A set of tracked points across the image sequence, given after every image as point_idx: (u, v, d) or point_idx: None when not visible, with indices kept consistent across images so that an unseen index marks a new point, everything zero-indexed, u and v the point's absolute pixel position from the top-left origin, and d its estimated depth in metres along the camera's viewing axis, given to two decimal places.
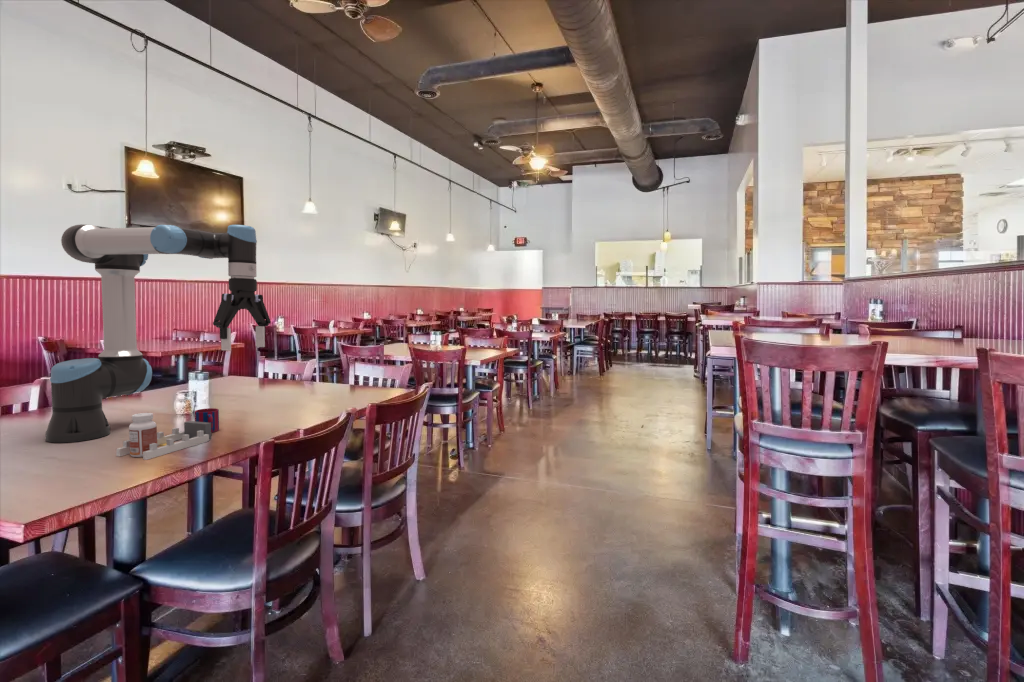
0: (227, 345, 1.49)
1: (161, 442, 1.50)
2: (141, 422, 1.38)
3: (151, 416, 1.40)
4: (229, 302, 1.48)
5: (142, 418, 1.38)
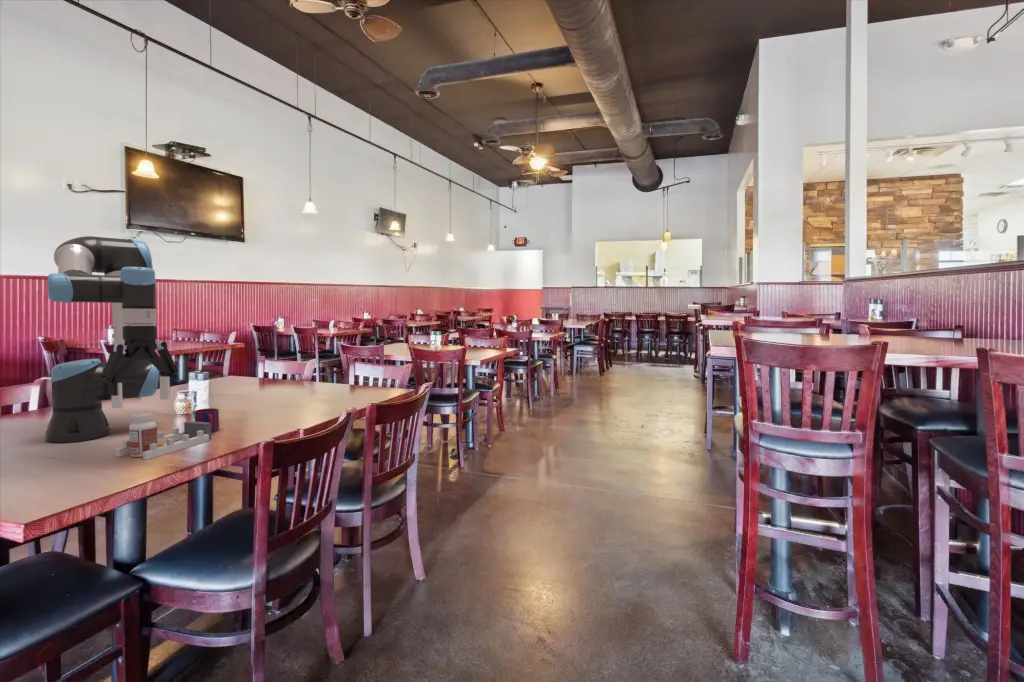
0: (118, 402, 1.32)
1: (161, 442, 1.50)
2: (141, 422, 1.38)
3: (151, 416, 1.40)
4: (120, 354, 1.32)
5: (142, 418, 1.38)
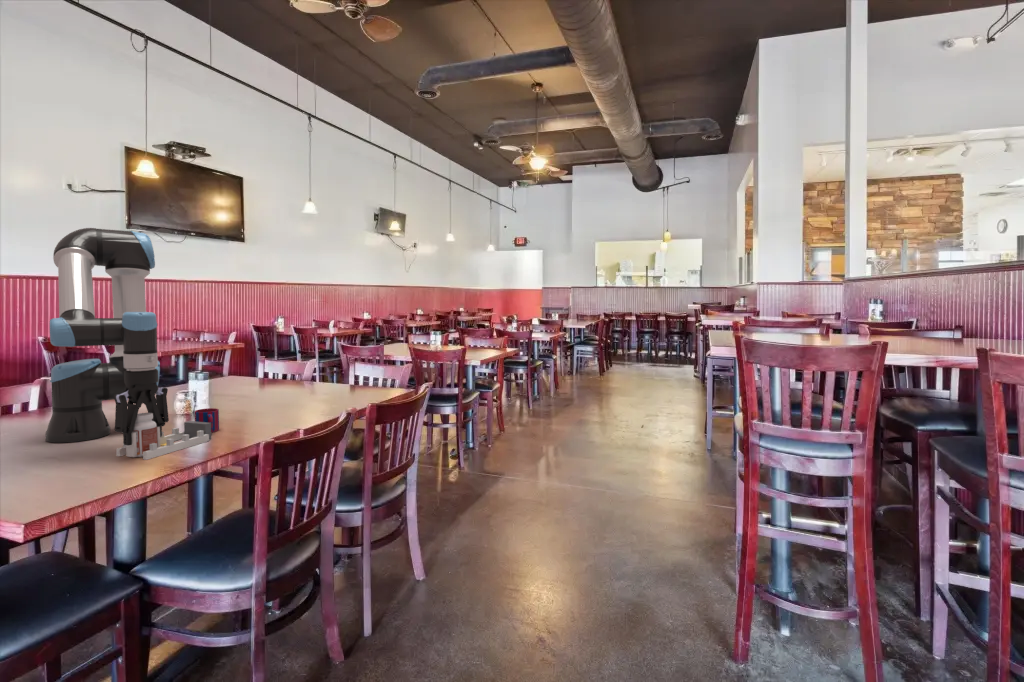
0: (132, 451, 1.37)
1: (161, 442, 1.50)
2: (141, 422, 1.38)
3: (151, 416, 1.40)
4: (125, 404, 1.34)
5: (142, 418, 1.38)
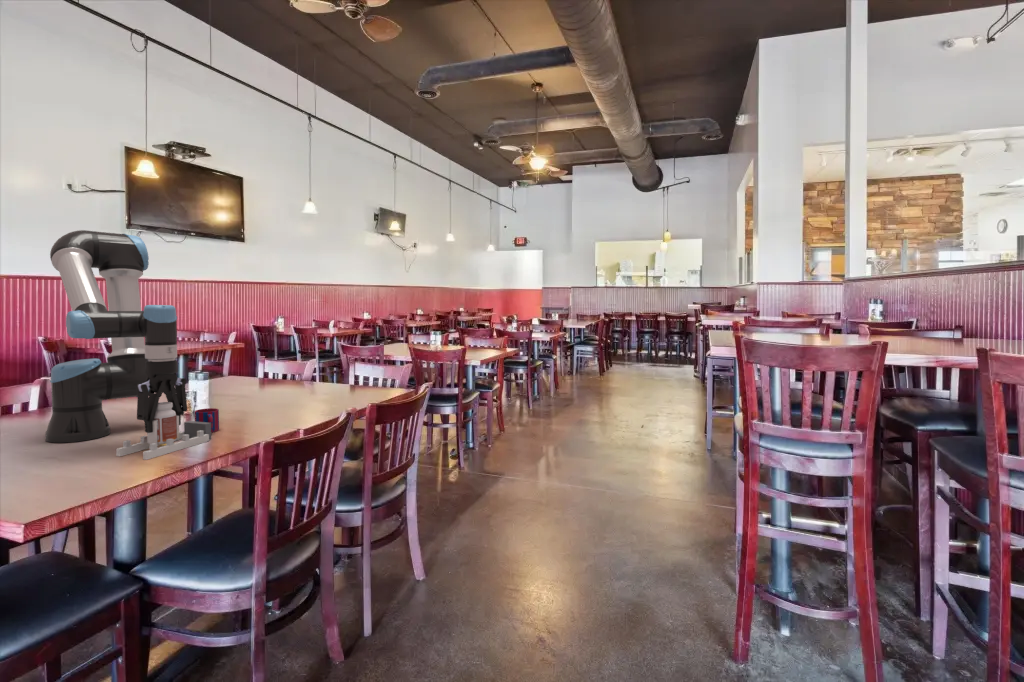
0: (153, 438, 1.43)
1: None
2: (162, 411, 1.44)
3: (171, 405, 1.46)
4: (146, 393, 1.40)
5: (162, 407, 1.44)
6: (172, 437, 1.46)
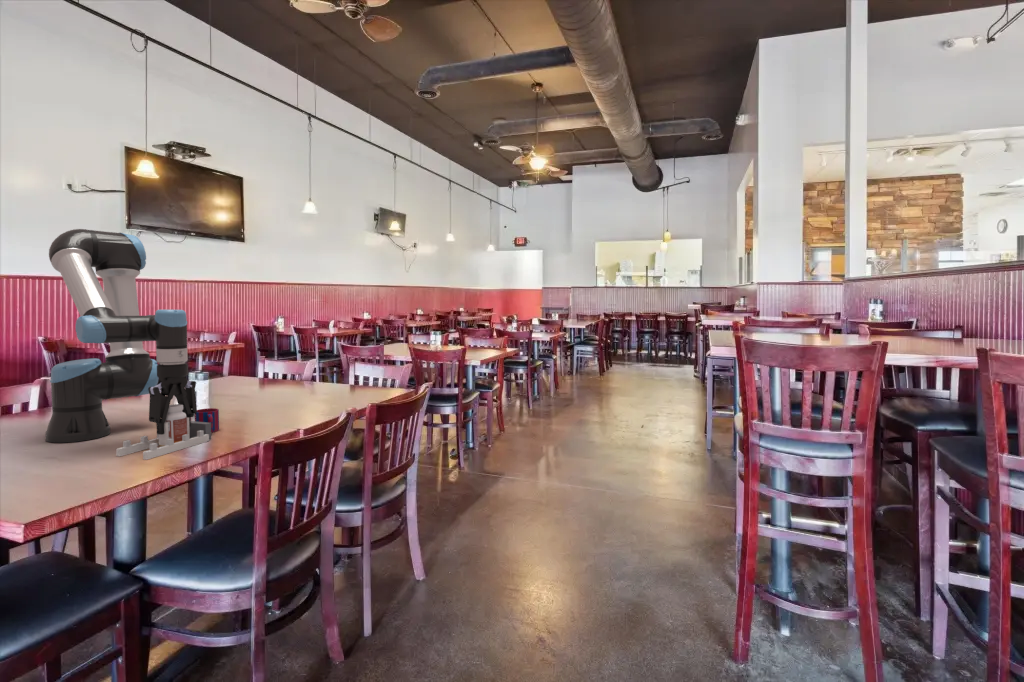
0: (164, 440, 1.46)
1: None
2: (173, 413, 1.47)
3: (182, 407, 1.49)
4: (158, 395, 1.43)
5: (174, 409, 1.47)
6: None
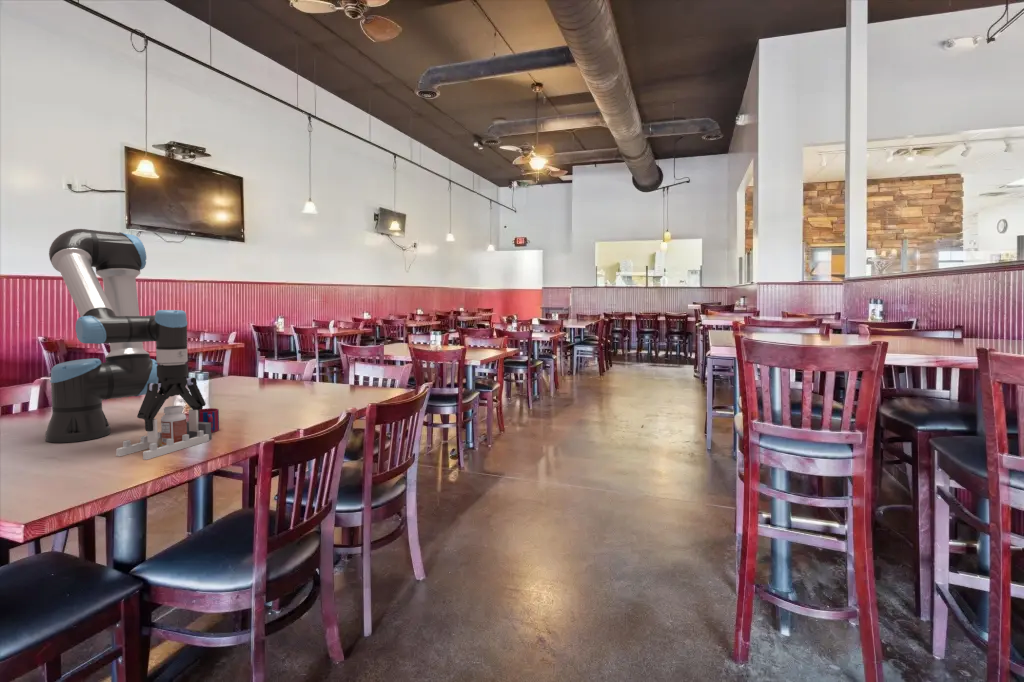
0: (153, 437, 1.43)
1: (161, 442, 1.50)
2: (173, 414, 1.48)
3: (181, 409, 1.49)
4: (155, 392, 1.42)
5: (174, 411, 1.47)
6: None
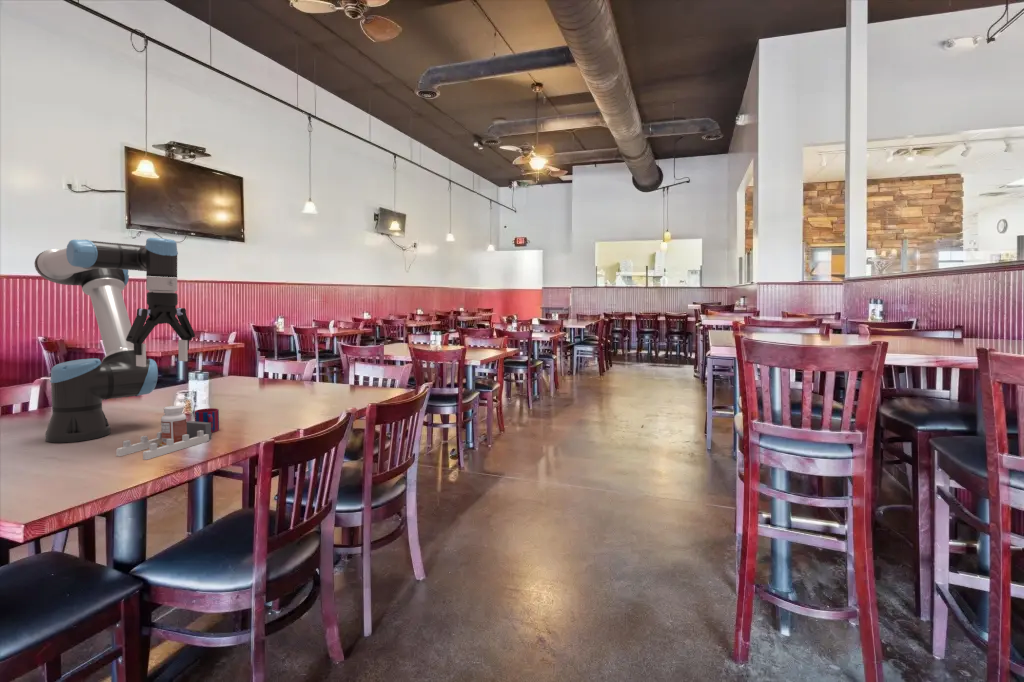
0: (142, 361, 1.46)
1: (161, 442, 1.50)
2: (173, 414, 1.48)
3: (181, 409, 1.49)
4: (144, 317, 1.45)
5: (174, 411, 1.47)
6: None
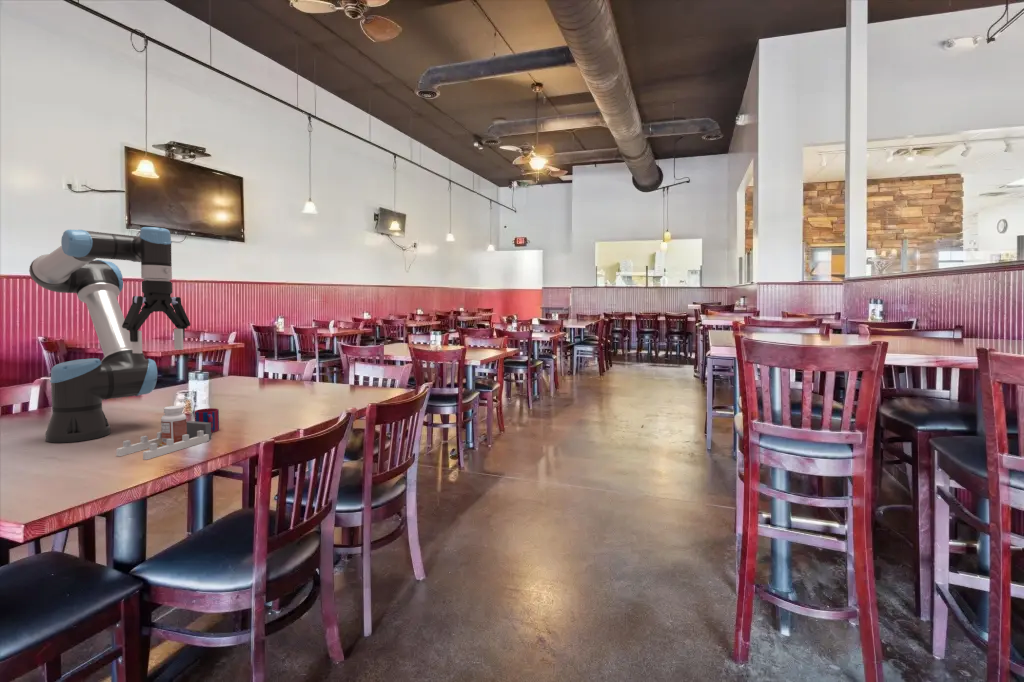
0: (138, 348, 1.48)
1: (161, 442, 1.50)
2: (173, 414, 1.48)
3: (181, 409, 1.49)
4: (140, 304, 1.47)
5: (174, 411, 1.47)
6: None
